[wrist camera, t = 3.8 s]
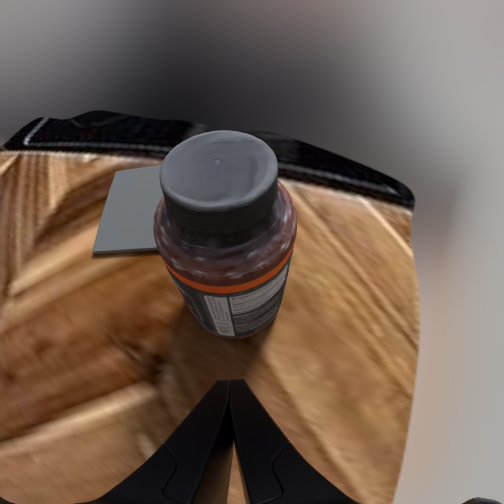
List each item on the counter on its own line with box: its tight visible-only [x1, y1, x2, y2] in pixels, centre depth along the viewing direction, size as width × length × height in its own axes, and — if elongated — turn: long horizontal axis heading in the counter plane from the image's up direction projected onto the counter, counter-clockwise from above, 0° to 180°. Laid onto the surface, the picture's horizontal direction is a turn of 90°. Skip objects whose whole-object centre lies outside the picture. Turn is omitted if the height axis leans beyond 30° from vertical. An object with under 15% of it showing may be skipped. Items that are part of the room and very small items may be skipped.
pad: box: [92, 165, 163, 254], centre depth 23 cm, size 9×14×1 cm, turn 94°
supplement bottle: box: [153, 130, 297, 339], centre depth 14 cm, size 6×6×11 cm
